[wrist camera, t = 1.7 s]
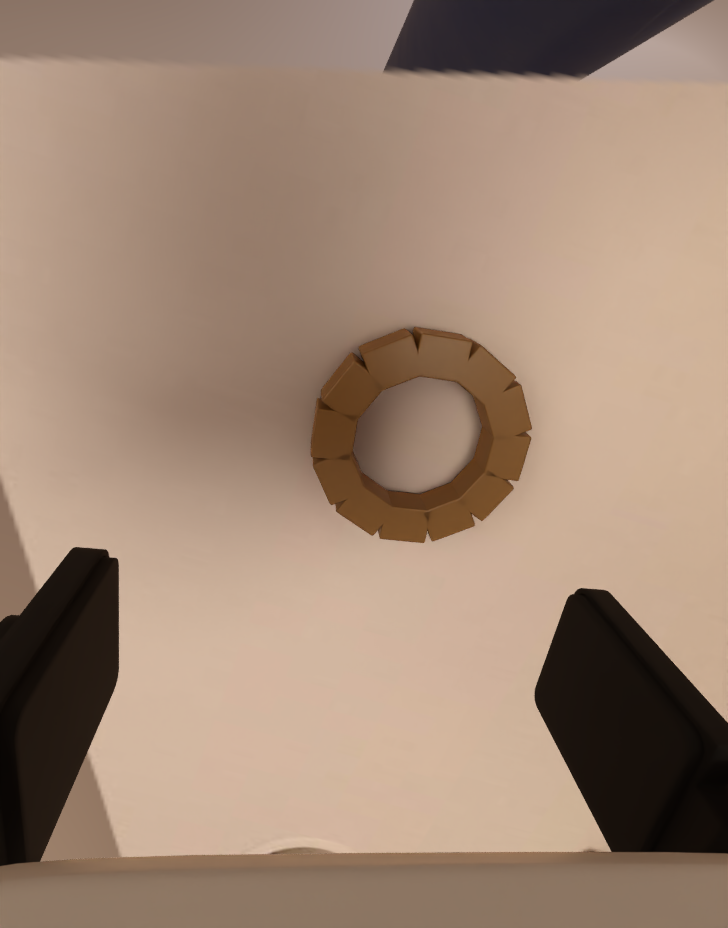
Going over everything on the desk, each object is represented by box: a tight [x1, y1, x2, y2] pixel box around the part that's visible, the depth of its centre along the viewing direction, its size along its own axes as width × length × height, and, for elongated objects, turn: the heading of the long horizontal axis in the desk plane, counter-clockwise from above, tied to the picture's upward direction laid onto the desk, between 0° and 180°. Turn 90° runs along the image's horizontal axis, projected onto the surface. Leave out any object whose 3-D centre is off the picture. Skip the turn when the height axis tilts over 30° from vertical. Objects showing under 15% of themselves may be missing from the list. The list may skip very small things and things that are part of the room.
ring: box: [311, 327, 532, 543], centre depth 22 cm, size 9×9×2 cm
